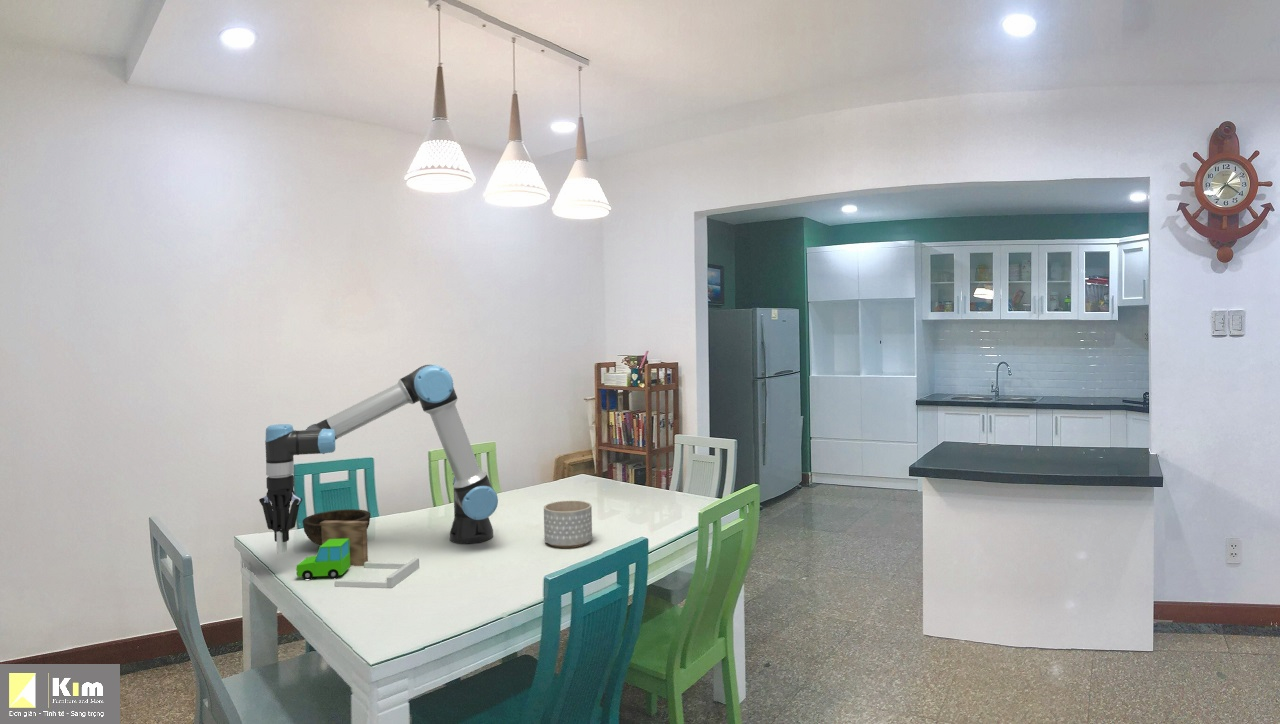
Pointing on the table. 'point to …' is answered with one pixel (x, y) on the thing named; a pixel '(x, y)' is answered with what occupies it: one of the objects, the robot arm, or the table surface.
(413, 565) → the bay
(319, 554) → the toy car
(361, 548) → the brown textured panel
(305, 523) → the bowl
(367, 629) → the table surface
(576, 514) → the planter
